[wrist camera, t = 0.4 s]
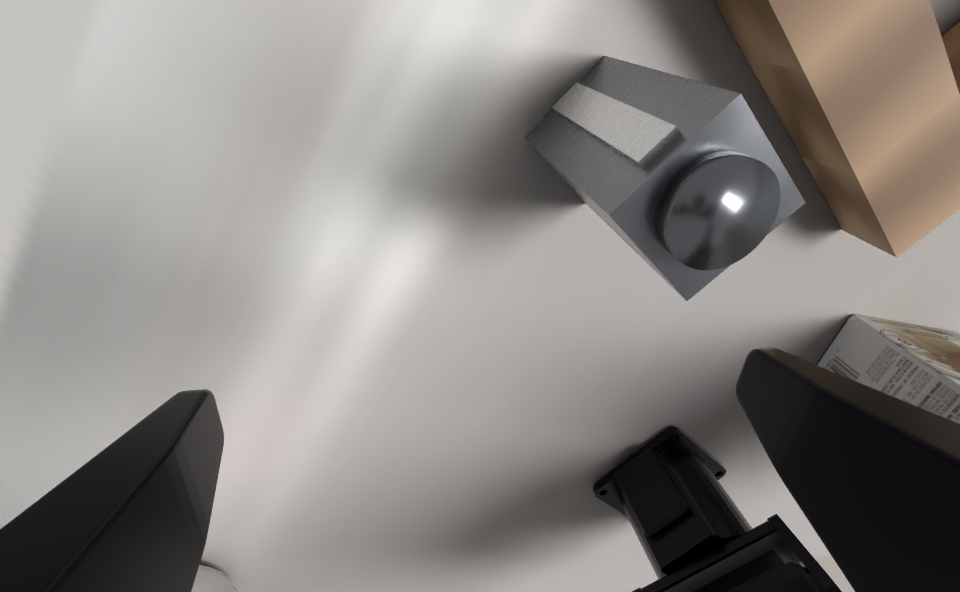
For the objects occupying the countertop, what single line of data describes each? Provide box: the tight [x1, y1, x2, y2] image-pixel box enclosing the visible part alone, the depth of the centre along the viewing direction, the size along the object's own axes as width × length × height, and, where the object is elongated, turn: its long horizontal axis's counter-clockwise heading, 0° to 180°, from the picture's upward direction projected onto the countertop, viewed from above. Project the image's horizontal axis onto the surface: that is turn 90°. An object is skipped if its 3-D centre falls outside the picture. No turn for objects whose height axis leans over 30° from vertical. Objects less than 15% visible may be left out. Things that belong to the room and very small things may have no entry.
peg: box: [525, 56, 806, 301], centre depth 16 cm, size 4×4×9 cm
